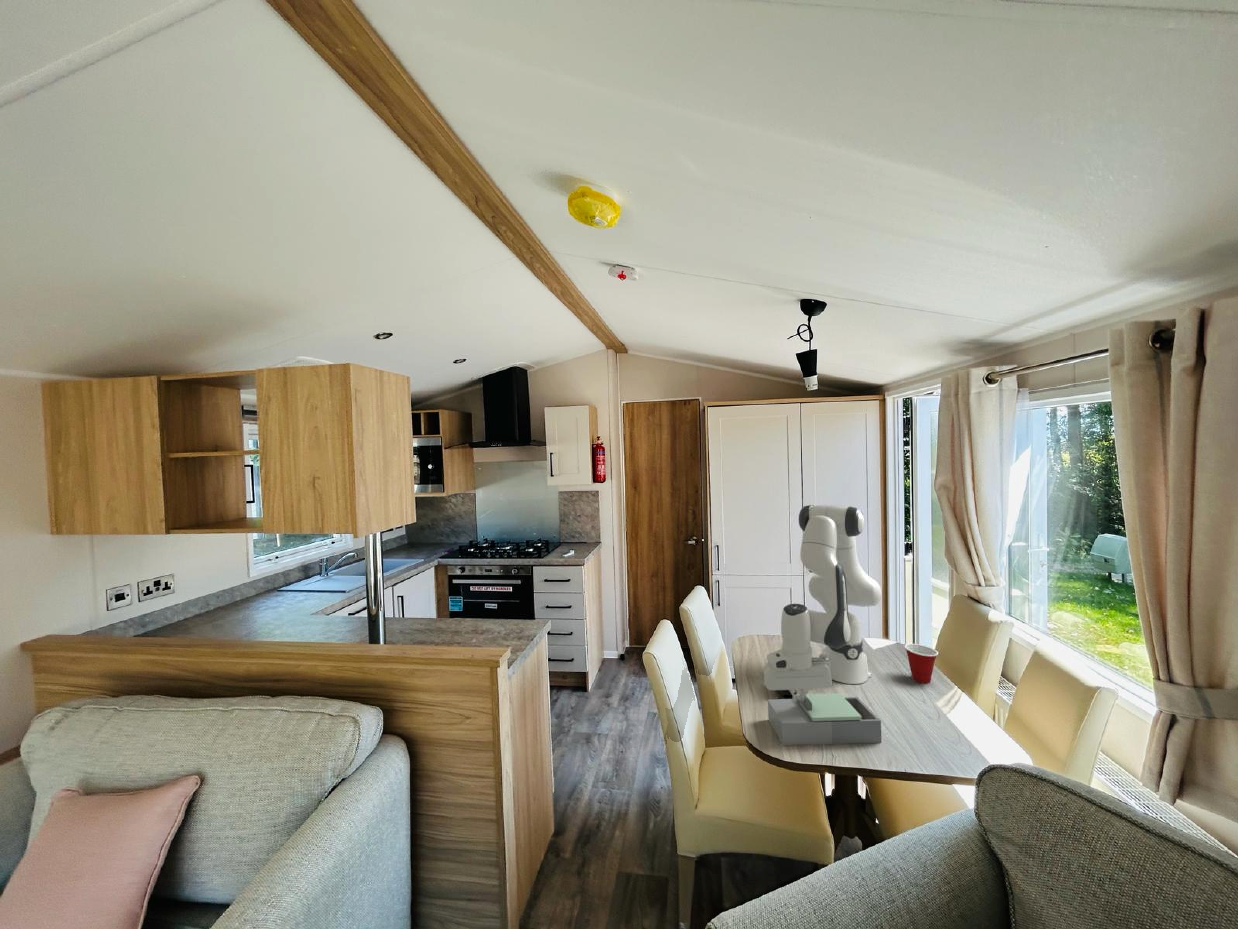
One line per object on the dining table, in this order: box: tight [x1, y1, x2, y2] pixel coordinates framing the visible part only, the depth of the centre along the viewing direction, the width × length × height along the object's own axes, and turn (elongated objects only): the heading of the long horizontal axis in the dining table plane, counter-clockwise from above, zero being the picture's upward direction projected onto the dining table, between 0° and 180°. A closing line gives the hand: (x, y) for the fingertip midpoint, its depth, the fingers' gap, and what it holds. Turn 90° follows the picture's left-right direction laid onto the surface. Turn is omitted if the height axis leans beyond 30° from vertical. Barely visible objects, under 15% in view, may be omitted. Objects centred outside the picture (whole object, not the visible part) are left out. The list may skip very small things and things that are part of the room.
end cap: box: [774, 690, 797, 699], centre depth 179 cm, size 10×7×7 cm
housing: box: [767, 696, 882, 746], centre depth 154 cm, size 15×29×6 cm, turn 90°
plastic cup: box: [904, 643, 939, 684], centre depth 185 cm, size 11×11×12 cm
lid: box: [797, 692, 862, 721], centre depth 154 cm, size 15×15×3 cm
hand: (798, 702), depth 154 cm, fingers closed
